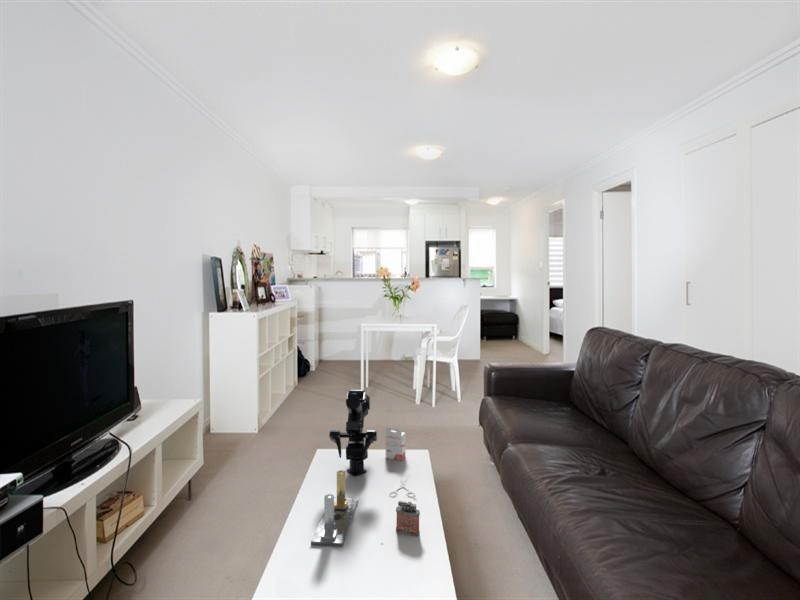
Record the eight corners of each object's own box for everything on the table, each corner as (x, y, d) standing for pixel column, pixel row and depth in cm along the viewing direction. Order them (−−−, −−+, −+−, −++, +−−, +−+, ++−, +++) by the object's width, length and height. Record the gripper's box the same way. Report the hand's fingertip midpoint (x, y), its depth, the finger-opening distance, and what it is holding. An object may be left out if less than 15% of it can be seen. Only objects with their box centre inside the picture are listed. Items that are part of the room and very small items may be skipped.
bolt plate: (331, 500, 146) (331, 463, 145) (357, 501, 145) (357, 465, 144) (310, 545, 121) (310, 501, 120) (342, 547, 120) (342, 502, 119)
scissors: (388, 498, 147) (392, 472, 167) (388, 500, 147) (392, 474, 167) (416, 499, 146) (416, 473, 166) (416, 501, 146) (416, 474, 166)
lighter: (420, 531, 128) (421, 502, 127) (417, 538, 124) (418, 507, 124) (397, 526, 130) (398, 497, 130) (394, 532, 127) (394, 503, 127)
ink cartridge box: (405, 456, 183) (406, 426, 182) (401, 461, 178) (402, 429, 178) (389, 453, 186) (389, 423, 186) (385, 457, 182) (385, 427, 181)
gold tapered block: (336, 502, 141) (336, 469, 141) (348, 503, 141) (348, 470, 140) (333, 508, 138) (333, 474, 137) (345, 509, 137) (345, 475, 137)
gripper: (329, 411, 154) (324, 451, 144) (376, 411, 154) (374, 452, 144) (333, 420, 163) (329, 459, 153) (377, 421, 163) (376, 460, 153)
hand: (351, 457), depth 151 cm, fingers open, 9 cm apart
